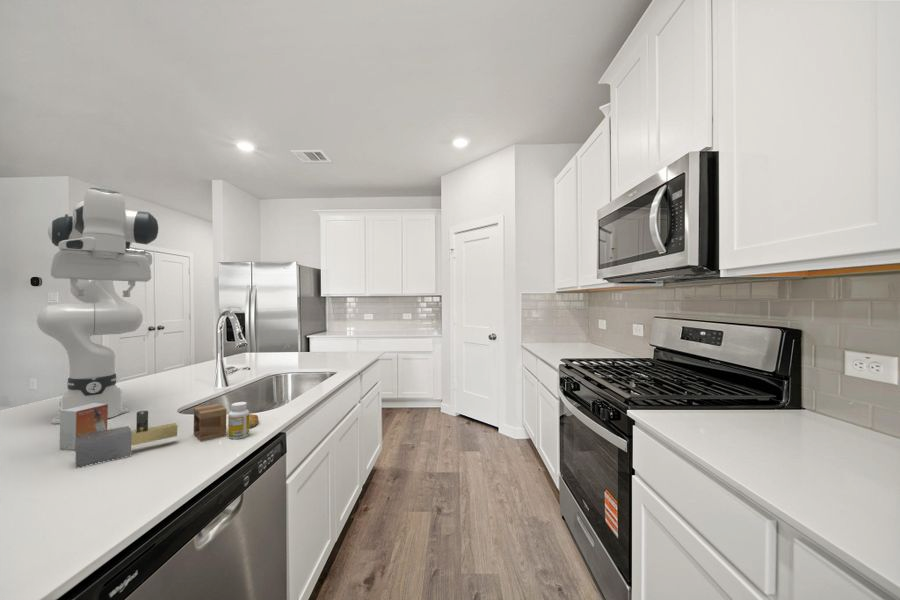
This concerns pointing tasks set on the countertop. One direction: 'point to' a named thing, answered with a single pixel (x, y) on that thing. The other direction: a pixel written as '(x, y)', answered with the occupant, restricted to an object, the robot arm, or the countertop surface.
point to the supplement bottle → (238, 421)
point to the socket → (209, 422)
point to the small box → (81, 422)
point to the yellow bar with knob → (151, 430)
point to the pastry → (252, 420)
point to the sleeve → (103, 446)
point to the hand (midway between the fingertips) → (103, 296)
